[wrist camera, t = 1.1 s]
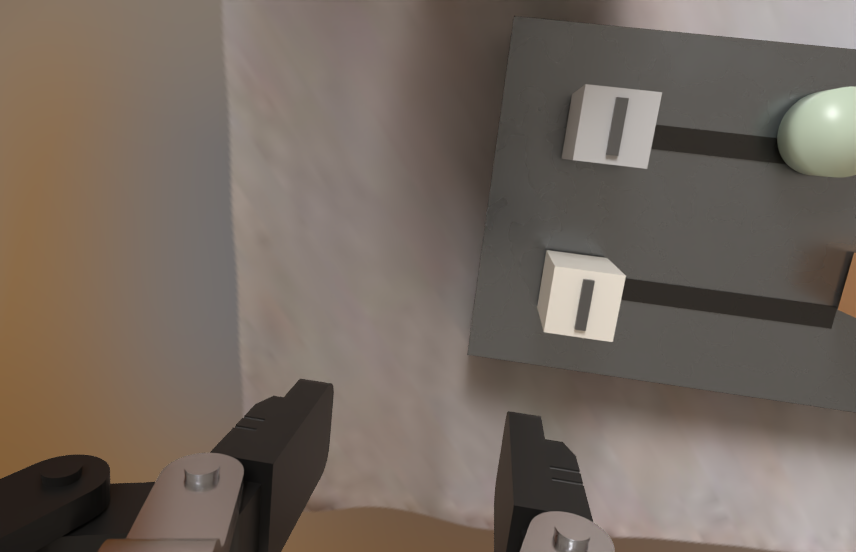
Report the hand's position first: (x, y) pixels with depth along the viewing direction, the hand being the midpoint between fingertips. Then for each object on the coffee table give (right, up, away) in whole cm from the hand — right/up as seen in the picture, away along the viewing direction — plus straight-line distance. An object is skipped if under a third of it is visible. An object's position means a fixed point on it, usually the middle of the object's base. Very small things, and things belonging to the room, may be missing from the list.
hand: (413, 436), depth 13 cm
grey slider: (+9, +11, +16) cm, 22 cm away
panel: (+17, +7, +21) cm, 27 cm away
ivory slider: (+8, +3, +18) cm, 20 cm away
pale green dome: (+19, +11, +15) cm, 27 cm away
